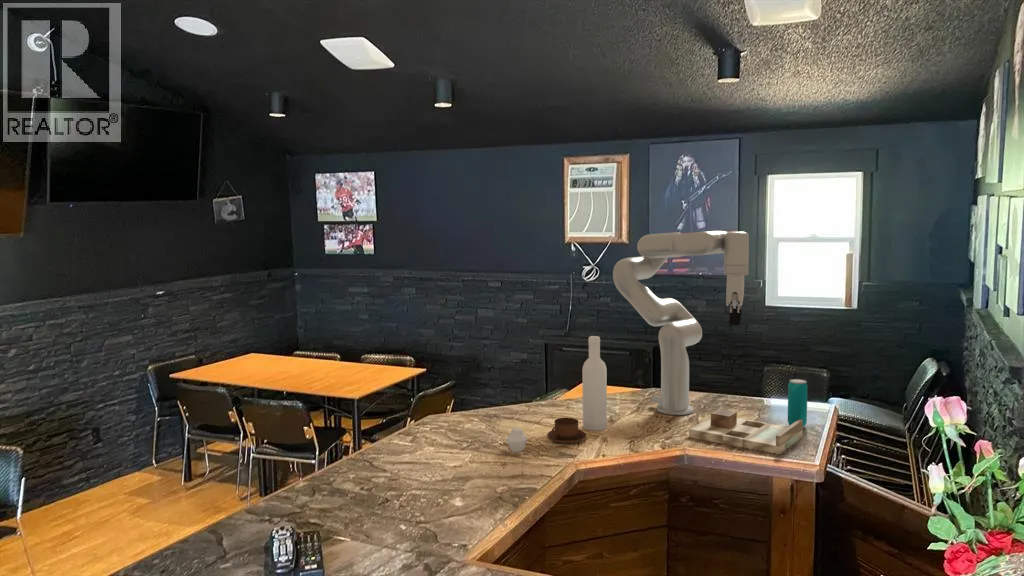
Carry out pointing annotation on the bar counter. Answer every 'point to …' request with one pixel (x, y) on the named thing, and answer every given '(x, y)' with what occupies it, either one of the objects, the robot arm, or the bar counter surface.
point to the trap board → (750, 434)
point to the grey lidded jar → (516, 440)
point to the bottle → (594, 388)
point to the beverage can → (797, 401)
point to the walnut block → (723, 419)
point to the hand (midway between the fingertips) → (735, 322)
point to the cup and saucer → (566, 431)
